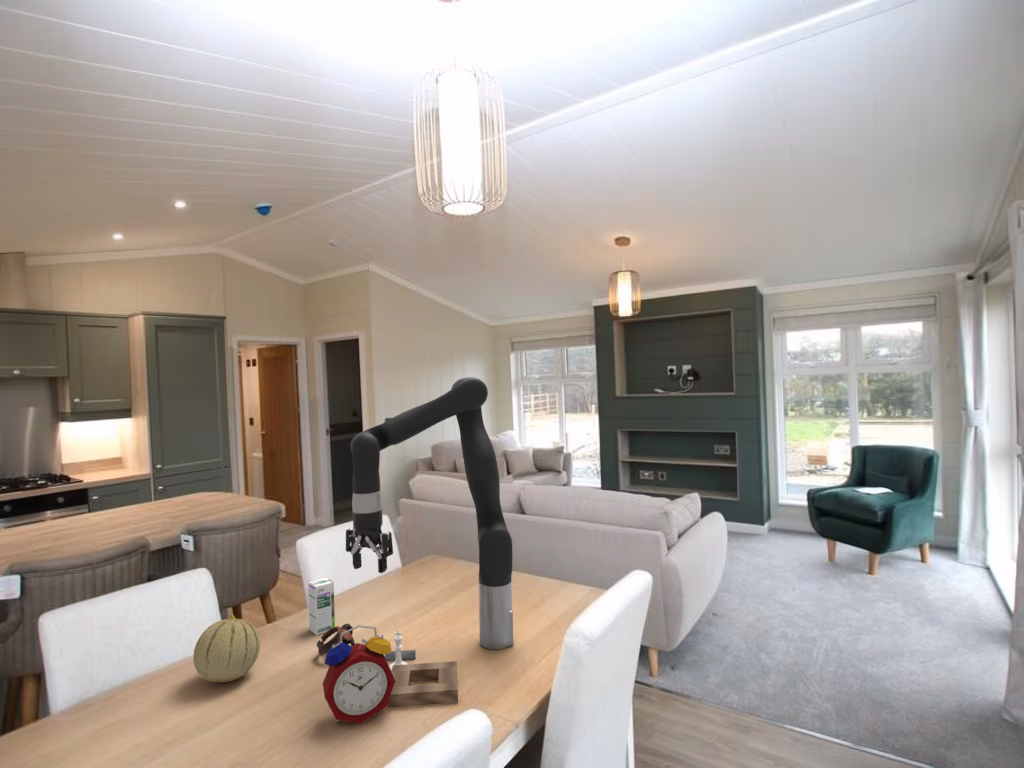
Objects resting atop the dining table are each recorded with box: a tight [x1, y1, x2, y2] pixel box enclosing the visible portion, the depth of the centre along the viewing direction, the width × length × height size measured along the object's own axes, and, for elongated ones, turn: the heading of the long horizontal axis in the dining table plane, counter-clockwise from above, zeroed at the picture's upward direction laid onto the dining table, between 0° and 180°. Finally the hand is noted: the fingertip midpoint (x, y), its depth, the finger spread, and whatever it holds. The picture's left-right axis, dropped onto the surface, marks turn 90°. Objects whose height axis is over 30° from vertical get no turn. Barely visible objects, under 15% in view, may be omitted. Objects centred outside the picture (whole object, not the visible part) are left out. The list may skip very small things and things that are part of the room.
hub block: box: [386, 660, 459, 709], centre depth 130 cm, size 16×13×3 cm
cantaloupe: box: [193, 613, 261, 684], centre depth 136 cm, size 15×15×15 cm
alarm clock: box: [322, 624, 395, 724], centre depth 121 cm, size 15×9×20 cm, turn 114°
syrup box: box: [307, 577, 336, 636], centre depth 163 cm, size 6×6×14 cm
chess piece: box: [389, 629, 408, 671], centre depth 140 cm, size 5×5×10 cm
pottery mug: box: [316, 623, 356, 656], centre depth 149 cm, size 12×10×8 cm
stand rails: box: [384, 649, 417, 672], centre depth 140 cm, size 8×11×2 cm
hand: (369, 570), depth 143 cm, fingers open, 8 cm apart
